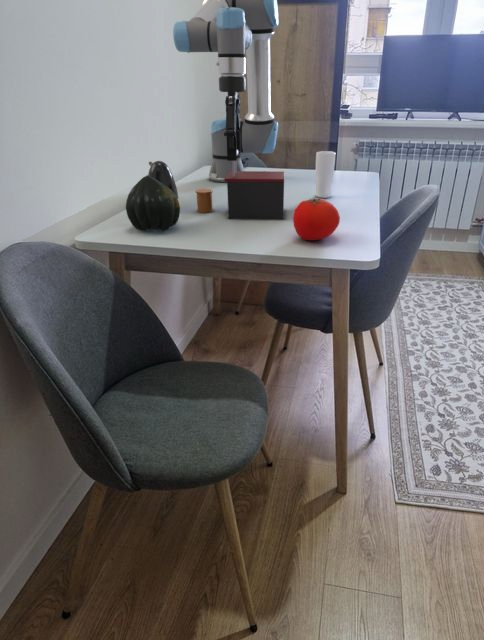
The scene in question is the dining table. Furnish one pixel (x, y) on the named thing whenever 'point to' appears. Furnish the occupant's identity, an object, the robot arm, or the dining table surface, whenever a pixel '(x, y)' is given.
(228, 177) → the lid
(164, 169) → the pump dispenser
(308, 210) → the tomato
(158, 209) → the squash
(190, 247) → the dining table surface
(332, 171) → the drinking glass
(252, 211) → the black storage bin
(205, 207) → the orange tapered cylinder
